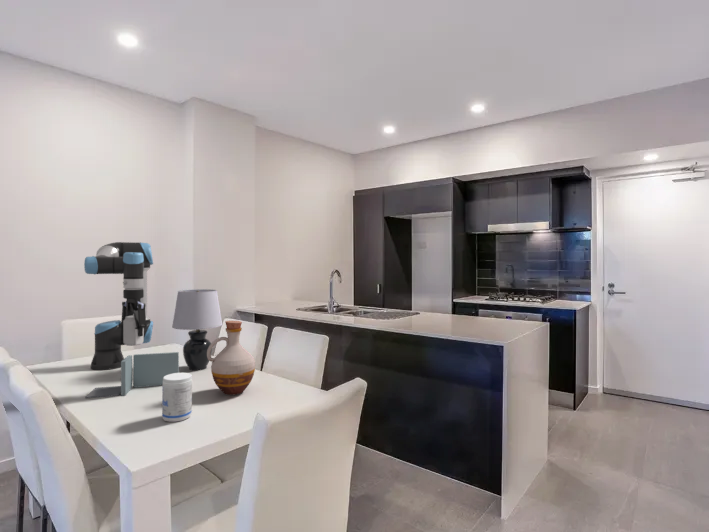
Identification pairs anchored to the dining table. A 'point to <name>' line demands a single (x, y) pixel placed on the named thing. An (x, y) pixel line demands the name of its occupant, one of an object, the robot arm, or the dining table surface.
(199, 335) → the lamp
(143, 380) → the screen
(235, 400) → the dining table surface
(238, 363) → the jug
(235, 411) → the dining table surface
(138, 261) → the robot arm
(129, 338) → the can
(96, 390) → the coaster
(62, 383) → the dining table surface
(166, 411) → the supplement tub
